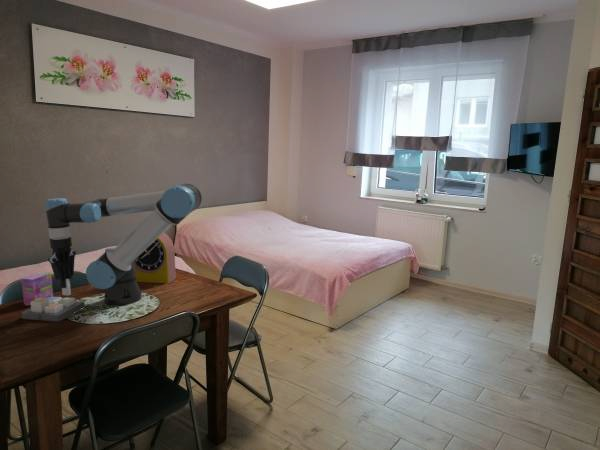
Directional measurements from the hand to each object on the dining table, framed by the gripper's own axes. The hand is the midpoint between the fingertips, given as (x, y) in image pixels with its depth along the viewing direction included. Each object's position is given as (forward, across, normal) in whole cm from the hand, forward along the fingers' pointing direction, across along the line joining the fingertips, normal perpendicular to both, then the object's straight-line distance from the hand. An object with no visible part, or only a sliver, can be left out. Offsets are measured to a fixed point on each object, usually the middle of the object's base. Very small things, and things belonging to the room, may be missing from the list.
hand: (66, 294), depth 174 cm
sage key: (+6, 0, 0) cm, 6 cm away
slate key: (+6, 0, -6) cm, 9 cm away
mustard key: (+4, +7, -6) cm, 11 cm away
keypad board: (+7, +4, -4) cm, 8 cm away
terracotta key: (+6, +7, 0) cm, 9 cm away
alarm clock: (+7, -45, +12) cm, 47 cm away
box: (+7, -7, -20) cm, 22 cm away
